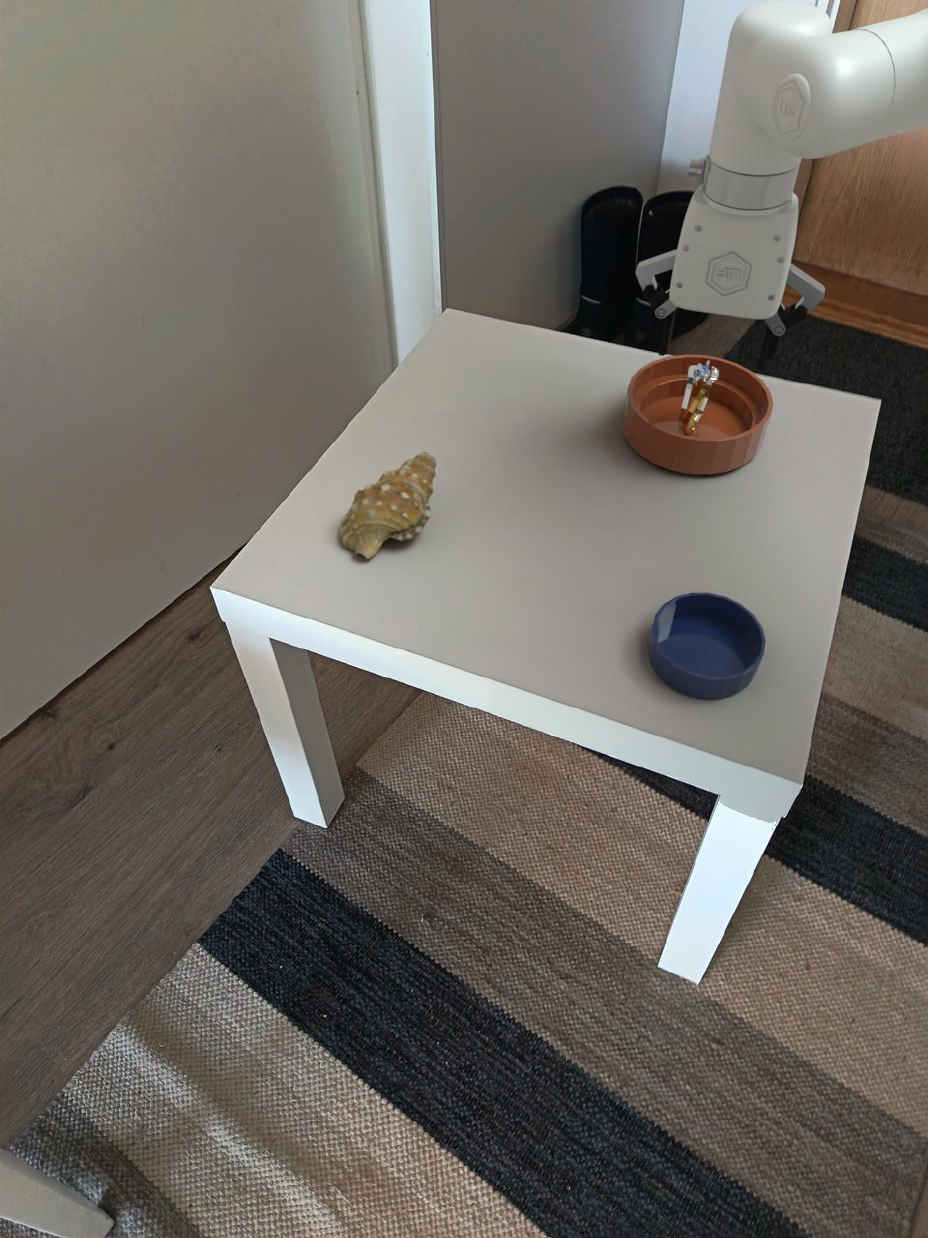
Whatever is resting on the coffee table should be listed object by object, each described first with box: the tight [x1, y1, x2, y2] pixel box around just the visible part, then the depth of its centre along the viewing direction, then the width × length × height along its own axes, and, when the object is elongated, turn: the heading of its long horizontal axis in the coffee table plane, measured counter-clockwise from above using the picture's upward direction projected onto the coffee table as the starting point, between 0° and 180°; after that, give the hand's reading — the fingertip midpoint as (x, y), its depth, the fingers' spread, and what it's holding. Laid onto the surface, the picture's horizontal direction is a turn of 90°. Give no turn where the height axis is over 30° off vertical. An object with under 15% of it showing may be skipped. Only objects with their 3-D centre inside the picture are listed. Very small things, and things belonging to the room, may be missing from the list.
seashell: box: [339, 451, 437, 560], centre depth 85 cm, size 9×8×10 cm
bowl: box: [622, 354, 774, 475], centre depth 93 cm, size 15×15×5 cm
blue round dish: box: [647, 592, 767, 701], centre depth 74 cm, size 9×9×3 cm
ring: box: [679, 361, 719, 434], centre depth 91 cm, size 7×3×8 cm, turn 144°
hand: (712, 355), depth 87 cm, fingers open, 9 cm apart
